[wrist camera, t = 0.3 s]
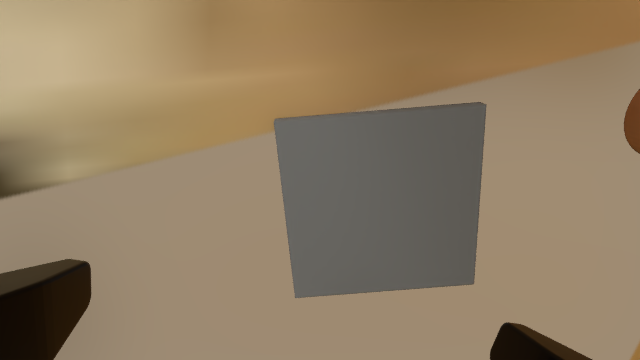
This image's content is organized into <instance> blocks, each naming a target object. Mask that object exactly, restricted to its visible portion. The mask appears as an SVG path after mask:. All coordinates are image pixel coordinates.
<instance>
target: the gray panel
mask: <svg viewBox="0 0 640 360" xmlns="http://www.w3.org/2000/svg"><path fill="white" fill-rule="evenodd" d="M485 116H486V104H483V103H481V102H476V103H463V104H451V105H440V106H439V105H438V106H426V107H415V108H401V109H389V110H377V111H365V112H352V113H340V114H328V115H316V116H303V117H291V118H279V119H275V120H274V127H275V135H276V143H277V152H278V160H279V168H280V176H281V185H282V193H283V201H284V209H285V217H286V226H287V234H288V243H289V251H290V259H291V267H292V276H293V283H294V292H295V298H301V297H315V296H327V295H340V294H353V293H367V292H380V291H393V290H406V289H419V288H432V287H445V286H458V285H471V284H474V275H475V261H476V247H477V232H478V218H479V202H480V189H481V175H482V159H483V144H484V130H485Z"/></svg>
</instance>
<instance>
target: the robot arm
mask: <svg viewBox="0 0 640 360" xmlns="http://www.w3.org/2000/svg"><path fill="white" fill-rule="evenodd" d="M90 298H91V268H90V265H89V263H88V262H86V261H80V260H73V259H65V260H61V261H56V262H52V263H47V264H42V265H38V266H34V267H29V268H24V269H20V270H15V271H11V272H6V273H2V274H0V360H53V359H54V358H55V357H56V355H57V353H58V352H59V350H60V349H61V347H62V345H63V344H64V343H65V341H66V340H67V338H68V337H69V335H70V334H71V332H72V330H73V329H74V327H75V326H76V324H77V323H78V321H79V320H80V318H81V317H82V315H83V314H84V312H85V311H86V309H87V307H88V305H89V302H90ZM490 360H592V359H590V358H588V357H586V356H584V355H582V354H580V353H578V352H576V351H574V350H572V349H570V348H568V347H566V346H564V345H562V344H560V343H558V342H556V341H554V340H552V339H550V338H548V337H546V336H544V335H542V334H540V333H538V332H536V331H534V330H532V329H530V328H528V327H526V326H524V325H521V324H515V323H504V324H503V325H502V326H501V328H500V330H499V333H498V335H497V337H496V339H495V341H494V344H493V346H492V348H491V352H490Z"/></svg>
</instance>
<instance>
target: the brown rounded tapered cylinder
mask: <svg viewBox="0 0 640 360" xmlns="http://www.w3.org/2000/svg"><path fill="white" fill-rule="evenodd" d="M624 131H625V136H626V139H627V141H628V143H629V145H630V146H631V147H632V148H633V149H634V150H635V151H636V152H638V153H639V154H640V89H639V90H638V92H637V93H636V94H635V96H634V97H633V99H632V100H631V102H630V104H629V106H628V109H627V111H626V115H625V120H624Z"/></svg>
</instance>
